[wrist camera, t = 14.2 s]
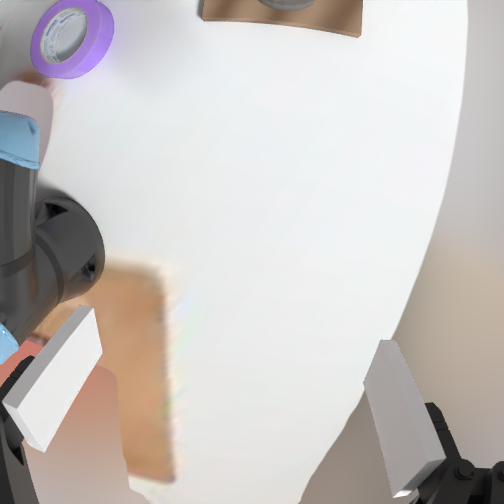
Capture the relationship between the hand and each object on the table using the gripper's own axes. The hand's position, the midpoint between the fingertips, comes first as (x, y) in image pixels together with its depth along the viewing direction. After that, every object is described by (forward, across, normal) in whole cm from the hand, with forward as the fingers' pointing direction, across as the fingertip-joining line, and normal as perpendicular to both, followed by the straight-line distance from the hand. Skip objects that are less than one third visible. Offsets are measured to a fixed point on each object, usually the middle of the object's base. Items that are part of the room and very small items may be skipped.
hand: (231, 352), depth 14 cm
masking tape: (+27, +26, -21) cm, 43 cm away
